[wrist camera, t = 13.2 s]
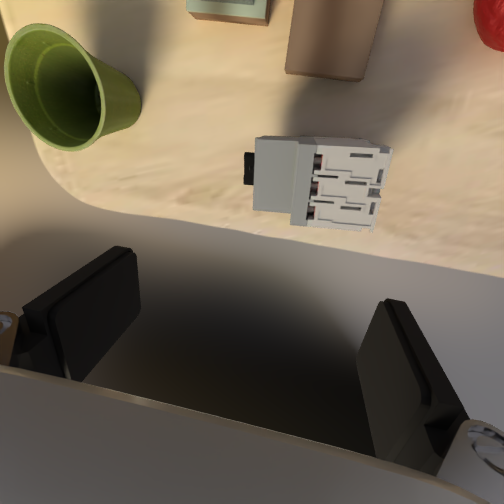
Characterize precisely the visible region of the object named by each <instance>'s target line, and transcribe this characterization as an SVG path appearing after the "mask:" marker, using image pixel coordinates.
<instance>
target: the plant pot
mask: <svg viewBox="0 0 504 504" xmlns="http://www.w3.org/2000/svg"><path fill="white" fill-rule="evenodd" d="M4 74H5V82H6V86H7V90H8V93H9V95H10V98H11V101H12V103H13V106H14V108H15V110H16V111H17V113H18V115H19V116H20V118H21V119H22V121H23V122H24V124H25V125H26V126H27V127H28V129H29V130H30V131H31V132H32V133H33V134H35V135H36V136H37V137H38V138H39V139H40V140H42V141H43V142H45V143H46V144H48V145H50V146H52V147H54V148H56V149H59V150H62V151H70V152H74V151H80V150H83V149H85V148H87V147H89V146H90V145H92V144H93V143H94V142H95V141H96V140H97V139H99V138H100V137H101V136H104V135H107V134H110V133H113V132H116V131H119V130H122V129H126V128H128V127H130V126H132V125H133V124H134V123H135V122H136V121H137V119H138V117H139V115H140V111H141V101H140V96H139V93H138V92H137V90H136V88H135V86H134V84H133V82H132V81H131V80H130V79H129V78H128V77H127V76H126V75H124V74H122V73H121V72H119V71H117V70H116V69H114V68H112V67H110V66H109V65H107V64H105V63H103V62H102V61H100V60H98V59H97V58H95V57H93V56H91V55H90V54H89V53H88V52H87V51H86V50H84V48H83V47H82V46H81V45H80V44H79V43H78V42H77V41H76V40H75V39H74V38H73V37H71V36H70V35H69V34H67V33H66V32H64V31H63V30H61V29H59V28H57V27H54V26H52V25H48V24H39V23H37V24H30V25H27V26H25V27H23V28H22V29H20V30H19V31H17V32H16V33H15V35H14V36H13V37H12V39H11V40H10V42H9V44H8V46H7V50H6V54H5V63H4ZM99 91H100V97H101V98H100V97H99Z"/></svg>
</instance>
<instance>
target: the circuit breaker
mask: <svg viewBox="0 0 504 504" xmlns="http://www.w3.org/2000/svg"><path fill="white" fill-rule="evenodd" d="M393 150H394V149H391V147H388V146H385V145H374V144H371V143H370V141H369V140H366V139H362V138H359V139H353V138H340V137H318V136H300V137H285V136H262V137H259V138H258V137H256V138H255V153H251V152H245V154H244V184H245V185H254V190H253V210H257V211H268V212H280V213H291V219H290V225H296V226H307V227H317V228H328V229H339V230H350V231H361V230H362V228H370V232H372V233H373V230H374V226H375V222H376V218H377V214H378V210H379V206H380V202H381V196H380V194H379V193H380V189H384V186H385V182H386V178H387V174H388V170H389V166H390V162H391V158H392V154H393Z"/></svg>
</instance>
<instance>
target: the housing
mask: <svg viewBox="0 0 504 504" xmlns="http://www.w3.org/2000/svg"><path fill="white" fill-rule="evenodd" d="M201 1H211V2H222V3H233V4H244V5H254V0H201Z"/></svg>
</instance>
